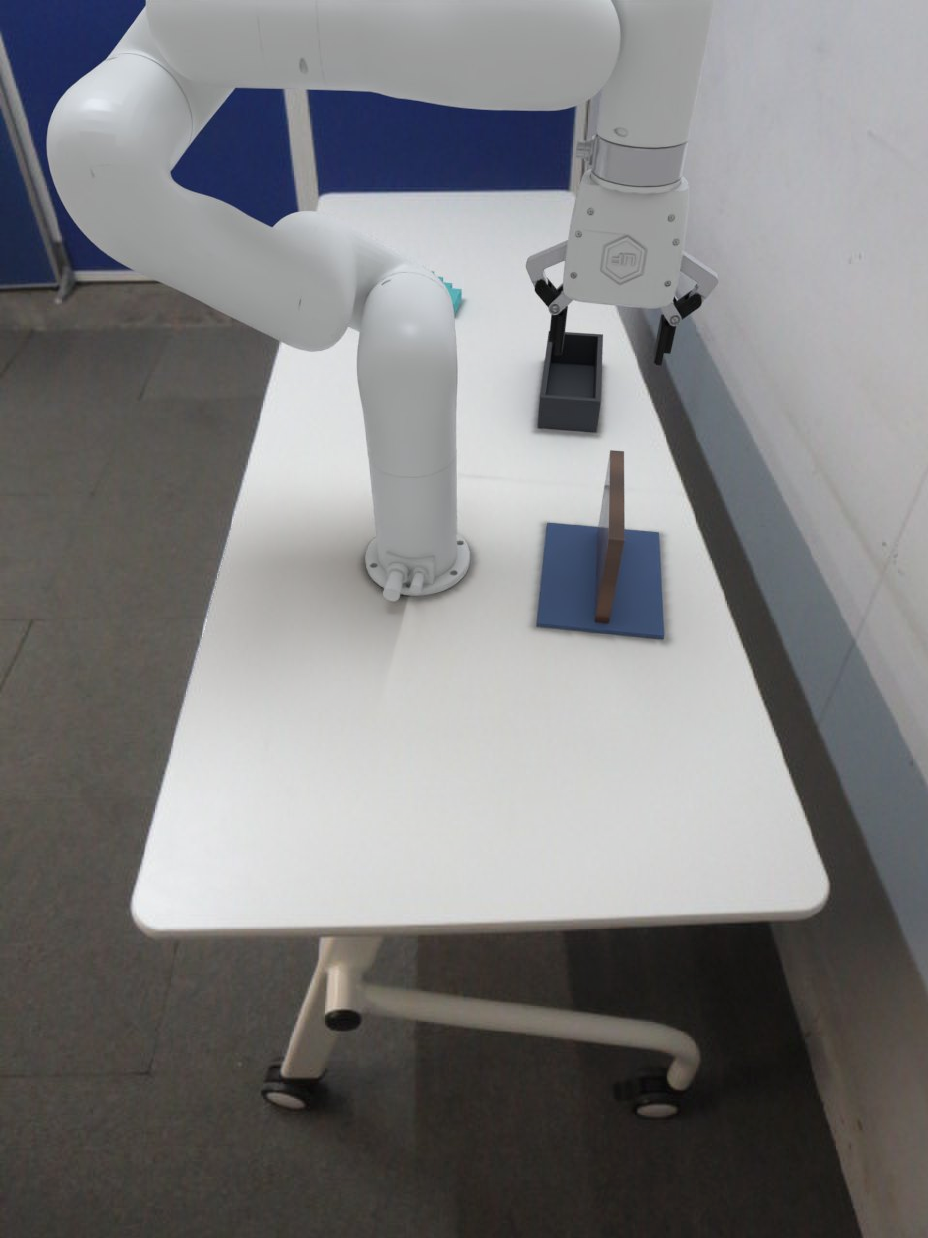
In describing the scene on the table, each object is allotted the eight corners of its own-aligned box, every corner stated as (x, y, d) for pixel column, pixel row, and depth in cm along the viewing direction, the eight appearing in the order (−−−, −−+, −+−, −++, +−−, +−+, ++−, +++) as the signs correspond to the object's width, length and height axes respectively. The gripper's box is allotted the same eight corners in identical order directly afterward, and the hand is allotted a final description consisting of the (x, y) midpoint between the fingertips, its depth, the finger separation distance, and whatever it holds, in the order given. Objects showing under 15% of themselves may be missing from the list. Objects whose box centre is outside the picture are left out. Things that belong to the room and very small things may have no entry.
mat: (663, 639, 88) (664, 635, 88) (536, 626, 89) (536, 623, 89) (658, 535, 101) (659, 531, 100) (546, 525, 102) (547, 522, 101)
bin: (596, 435, 116) (600, 401, 112) (537, 431, 117) (539, 397, 113) (598, 366, 131) (603, 334, 127) (546, 363, 132) (548, 330, 128)
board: (609, 623, 89) (624, 540, 80) (594, 622, 89) (608, 538, 80) (610, 532, 100) (624, 450, 91) (597, 531, 100) (610, 449, 92)
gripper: (529, 166, 65) (515, 363, 77) (748, 182, 63) (698, 381, 75) (539, 139, 70) (524, 328, 82) (741, 154, 68) (696, 344, 80)
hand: (607, 353), depth 79 cm, fingers open, 9 cm apart
